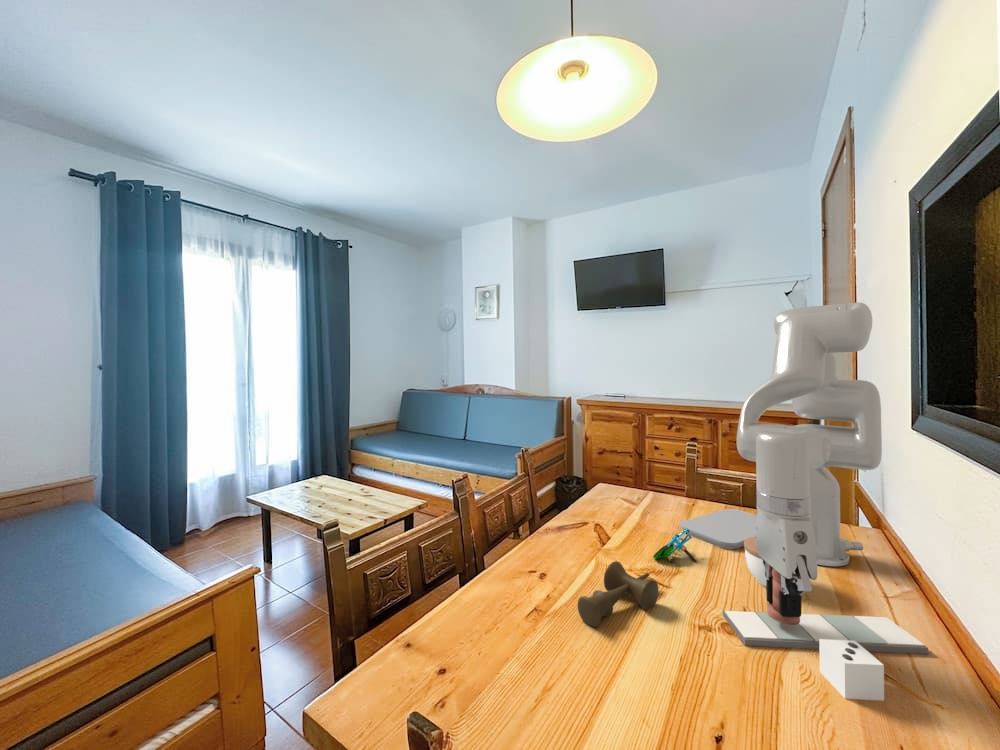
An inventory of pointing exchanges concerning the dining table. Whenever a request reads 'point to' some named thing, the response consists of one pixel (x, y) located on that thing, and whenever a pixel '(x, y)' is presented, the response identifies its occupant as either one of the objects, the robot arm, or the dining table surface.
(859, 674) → the die
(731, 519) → the tablet
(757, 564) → the lidded jar
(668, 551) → the stick construction toy
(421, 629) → the dining table surface
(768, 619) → the track board
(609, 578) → the kendama
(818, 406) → the robot arm
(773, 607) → the pawn
